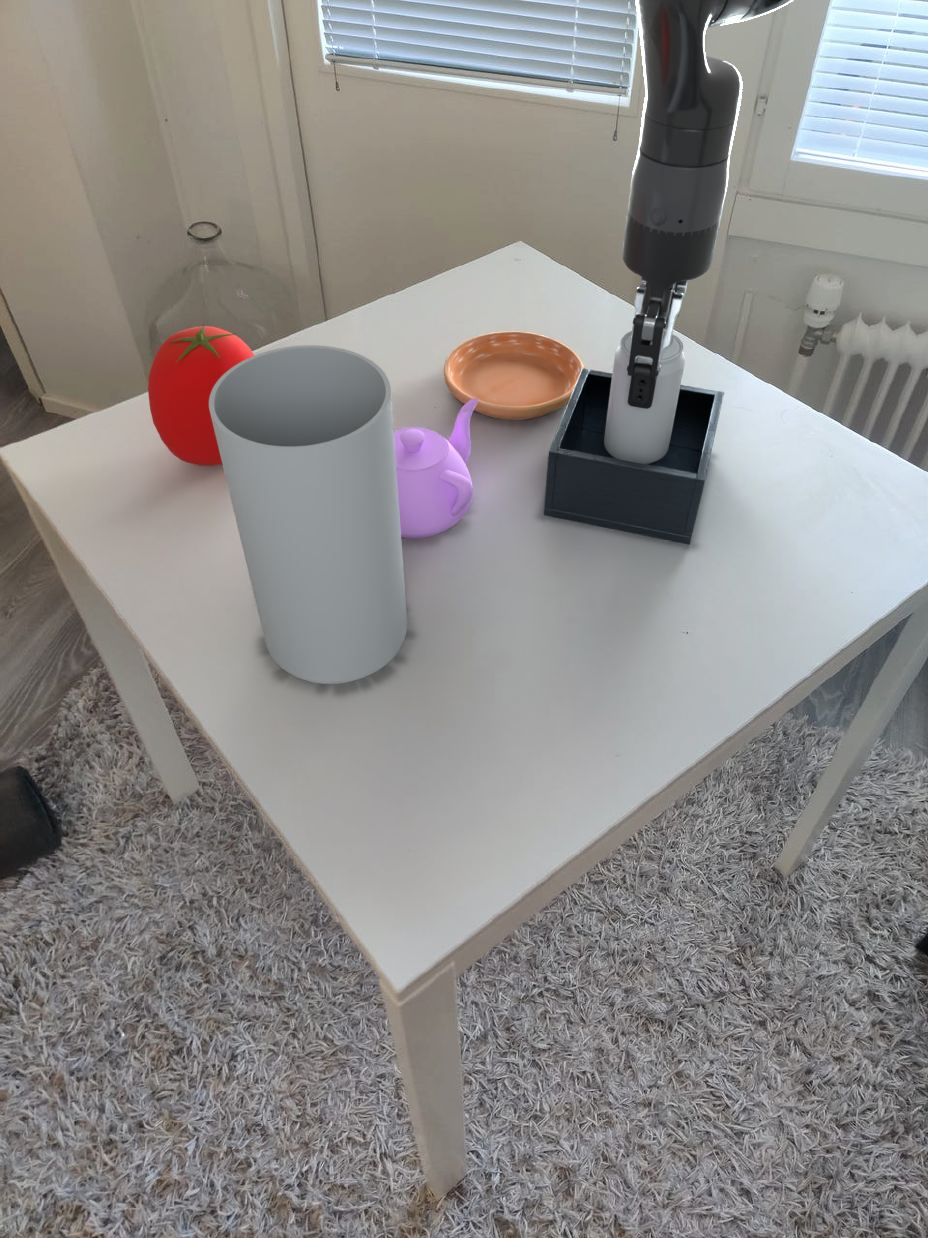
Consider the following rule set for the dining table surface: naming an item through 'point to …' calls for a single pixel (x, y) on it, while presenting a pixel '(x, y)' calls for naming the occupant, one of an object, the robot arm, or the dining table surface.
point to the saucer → (513, 374)
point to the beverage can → (639, 428)
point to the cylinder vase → (316, 506)
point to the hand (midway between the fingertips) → (646, 383)
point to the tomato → (191, 389)
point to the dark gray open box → (630, 466)
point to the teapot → (433, 476)
